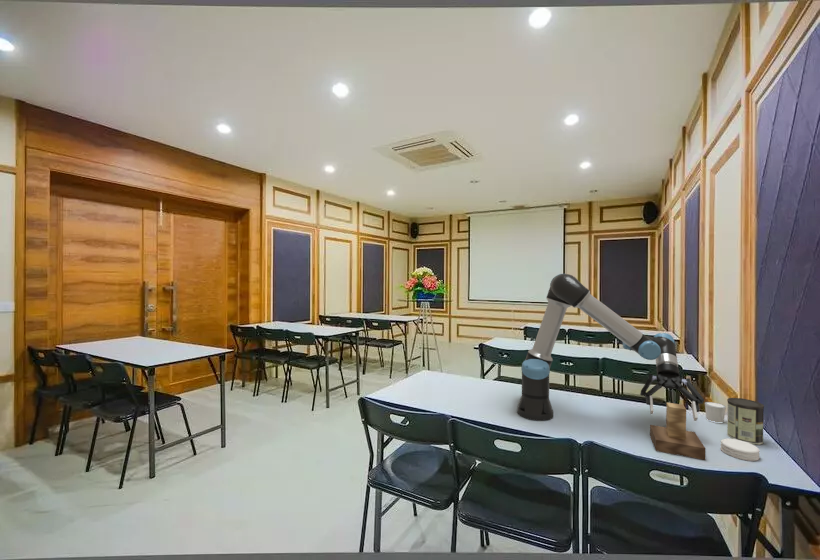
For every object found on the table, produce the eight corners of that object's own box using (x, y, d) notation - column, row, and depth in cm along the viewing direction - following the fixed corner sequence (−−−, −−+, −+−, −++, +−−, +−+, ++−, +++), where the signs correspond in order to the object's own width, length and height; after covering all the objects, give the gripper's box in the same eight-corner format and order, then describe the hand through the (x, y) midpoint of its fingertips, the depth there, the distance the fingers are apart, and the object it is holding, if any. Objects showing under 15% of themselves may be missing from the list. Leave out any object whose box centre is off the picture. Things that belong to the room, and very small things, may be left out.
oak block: (668, 437, 129) (669, 406, 129) (666, 431, 134) (666, 402, 134) (685, 439, 127) (686, 409, 127) (682, 434, 131) (683, 404, 131)
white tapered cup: (703, 420, 153) (704, 404, 153) (705, 416, 158) (705, 400, 158) (725, 425, 149) (725, 408, 148) (725, 420, 154) (726, 404, 154)
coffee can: (750, 433, 141) (751, 398, 141) (770, 446, 131) (771, 408, 131) (720, 431, 143) (720, 396, 143) (738, 443, 133) (739, 405, 133)
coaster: (713, 449, 129) (713, 439, 129) (734, 446, 131) (734, 436, 131) (744, 463, 119) (745, 453, 119) (767, 460, 122) (767, 449, 122)
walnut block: (655, 450, 127) (655, 439, 127) (649, 434, 140) (650, 424, 140) (705, 460, 121) (705, 448, 121) (694, 442, 133) (694, 432, 133)
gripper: (703, 376, 145) (713, 426, 132) (631, 368, 157) (634, 414, 144) (707, 366, 140) (717, 417, 128) (632, 358, 152) (635, 405, 139)
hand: (673, 415), depth 136 cm, fingers open, 13 cm apart
